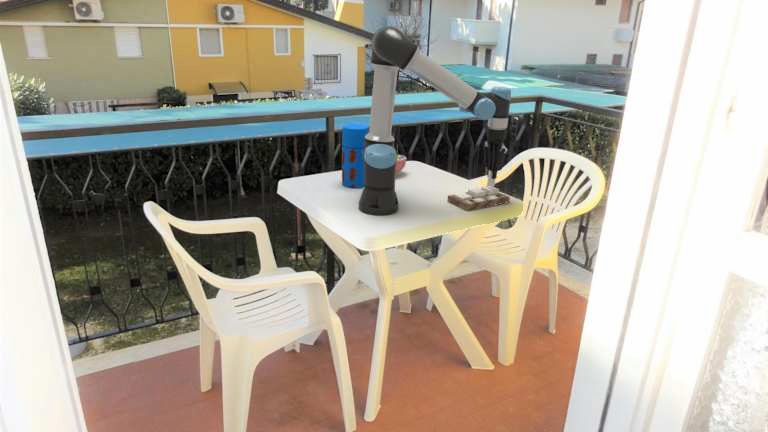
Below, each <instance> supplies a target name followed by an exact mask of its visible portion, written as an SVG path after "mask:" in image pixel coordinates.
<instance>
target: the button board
mask: <svg viewBox="0 0 768 432" xmlns="http://www.w3.org/2000/svg"><path fill="white" fill-rule="evenodd" d="M465 193H466V194H468V191H467V192H465ZM510 200H511V196H508V195H506V194H504V193H501V192H499V194H497V195H491V196H488V195H486V196H485V197H480V198H474V197H472V199H469V200H463V201H461V200H459V199H457V198H455V197H454V194H449V195H447V201H446V202H447V203H449V204H452V205H454V206H455V207H458V208H459V207H460V209H462V210H464V211H466V212H469V211H474V209H475V210H479V208H480V209H484V208H483V207H485V208H488V207H487V206H490V207H492V206H491V205H495V204H500V203H506V202H509V203H510ZM506 204H507V203H506Z"/></svg>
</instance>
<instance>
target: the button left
mask: <svg viewBox="0 0 768 432" xmlns="http://www.w3.org/2000/svg"><path fill="white" fill-rule="evenodd" d="M453 195H454V197H455V198H457V199H459V200H461V201H463V200H469V199H472V196H470V195H468V194H466V192H461V193H455V194H453Z"/></svg>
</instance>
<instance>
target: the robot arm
mask: <svg viewBox="0 0 768 432" xmlns="http://www.w3.org/2000/svg"><path fill="white" fill-rule="evenodd" d="M370 64H371V66H372V67H373V70H374V72H373V84H372V93H371V94H372V95H371V108H370V118H369V126H368V128H369V133H368V134H367V135H366V136H365V140H364V148H363V152H362V157H363V161H364V187H363V190H362V192H361V194H360V197H359V200H358V210H359V211H360V212H362V213H366V214H367V215H375V216H384V215H385V216H386V215H387V216H388V215H392V214H396V213H397V212H398V211H399V207H400V205H399V204H400V203H399V199H398V196H397V194H396V193H397V192H396V174H397V173H396V160H397V155H396V154H397V151H396V149H395V137H394V136H393V135H392V128H393V120H394V110H395V99H396V89H397V79H398V72H399V70H400V69H401V70H402V71H408V72H410V73H411V74H413V75H415V76H416V77H418V78H419V79H420V80H422V81H423V82H424V83H426V84H428V85H430V86H431V87H432V88H433V89H435V90H437V91H438V92H440V93H441V94H442V95H444V96H445V97H447V98H448V99H450V100H451V101H453V102H454V103H455V104H457V105H458V110H459V112H463V113H471V115H472V116H475V117H476V118H477V119H479V120H482V121H487V129H486V130H487V131H486V138H487V139H486V141H485V142H484V141H483V142H481V144H482V145H481V146H482V147H483V149H482V150H483V163H484V164H483V166H484V167H485V168H486V169H487V184H486V186H489V187H491V186H492V187H495V186H496V179H497V175H498V171H501V170H502V169H503V166H504V162H505V160H506V156H507V153H509V148H507V147H506V146H505V139H506V138H507V133H508V130H507V128H508V123H509V114H510V109H511V107H510V106H511V101H512V100H511V99H512V90H511V89H510V88H509V87H506V86H492V88H491V90H490V91H489V92H488V91H487V92H483V91H482V92H481V91H478V90H477V89H476V88H475V87H473V86H471V85H470V84H468V83H467V82H465V81H464V80H462V79H461V78H460V77H458V76H457V75H456V74H455V73H453V72H451V71H450V70H448V69H447V68H445V67H444V66H443V65H441V64H439V62H436V61H435V60H434V59H432V58H431V57H429V56H428V55H426V54H425V53H424V52H422V51H421V50H420V47H419V45H417V44H416V42H414V41H412V40H411V39H410V38H409V37H408V36H407V35H405V33H404V32H403V31H402V30H400V29H399V28H398V27H395V26H392V25H384V26H382V27H380V28H378V29H377V30H376V31H375V32H374V33H373V36H372V37H371V58H370Z"/></svg>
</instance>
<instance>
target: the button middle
mask: <svg viewBox="0 0 768 432" xmlns="http://www.w3.org/2000/svg"><path fill="white" fill-rule="evenodd" d="M467 192H468V195H470V196H472V197H474V198H480V197H485V196H486V191H484V190H481V188H478V187H476V188H475V187H474V188H470V189H469V188H468V189H467Z"/></svg>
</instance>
